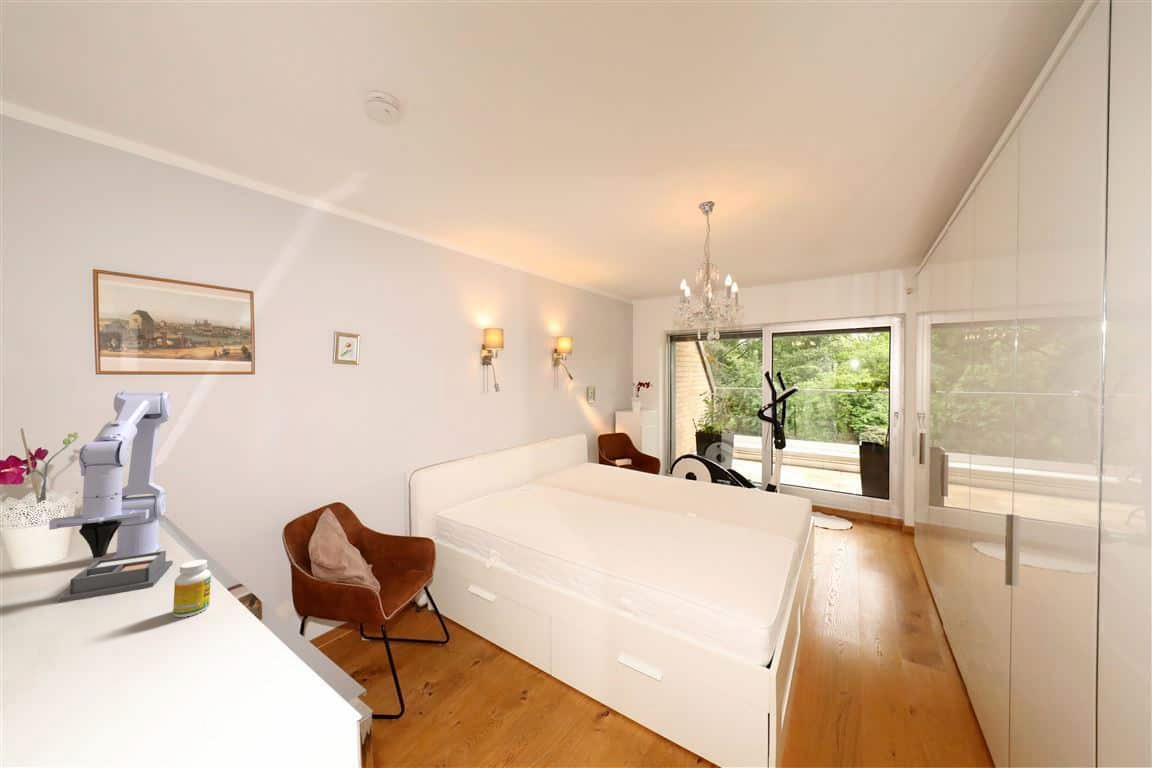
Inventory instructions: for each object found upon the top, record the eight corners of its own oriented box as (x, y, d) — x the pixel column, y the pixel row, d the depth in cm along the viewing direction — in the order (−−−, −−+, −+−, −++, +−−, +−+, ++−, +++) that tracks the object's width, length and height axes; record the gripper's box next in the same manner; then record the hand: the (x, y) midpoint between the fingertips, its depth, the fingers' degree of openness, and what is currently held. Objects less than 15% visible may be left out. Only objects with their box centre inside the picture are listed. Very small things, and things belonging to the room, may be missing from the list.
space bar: (100, 569, 95) (101, 563, 95) (157, 561, 100) (158, 555, 100) (92, 576, 92) (93, 569, 92) (152, 567, 97) (152, 560, 97)
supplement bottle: (174, 609, 82) (177, 562, 82) (210, 601, 85) (212, 555, 85) (171, 621, 78) (173, 571, 78) (208, 612, 81) (210, 564, 81)
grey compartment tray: (90, 576, 96) (91, 559, 96) (172, 564, 103) (173, 548, 103) (58, 602, 84) (59, 583, 84) (153, 586, 91) (154, 568, 91)
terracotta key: (125, 573, 93) (125, 566, 93) (149, 569, 95) (150, 563, 95) (118, 580, 90) (118, 573, 90) (143, 576, 92) (143, 569, 92)
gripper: (42, 503, 83) (38, 569, 83) (142, 495, 91) (139, 556, 90) (60, 495, 89) (57, 557, 88) (153, 488, 97) (150, 545, 96)
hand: (99, 556), depth 90 cm, fingers closed
